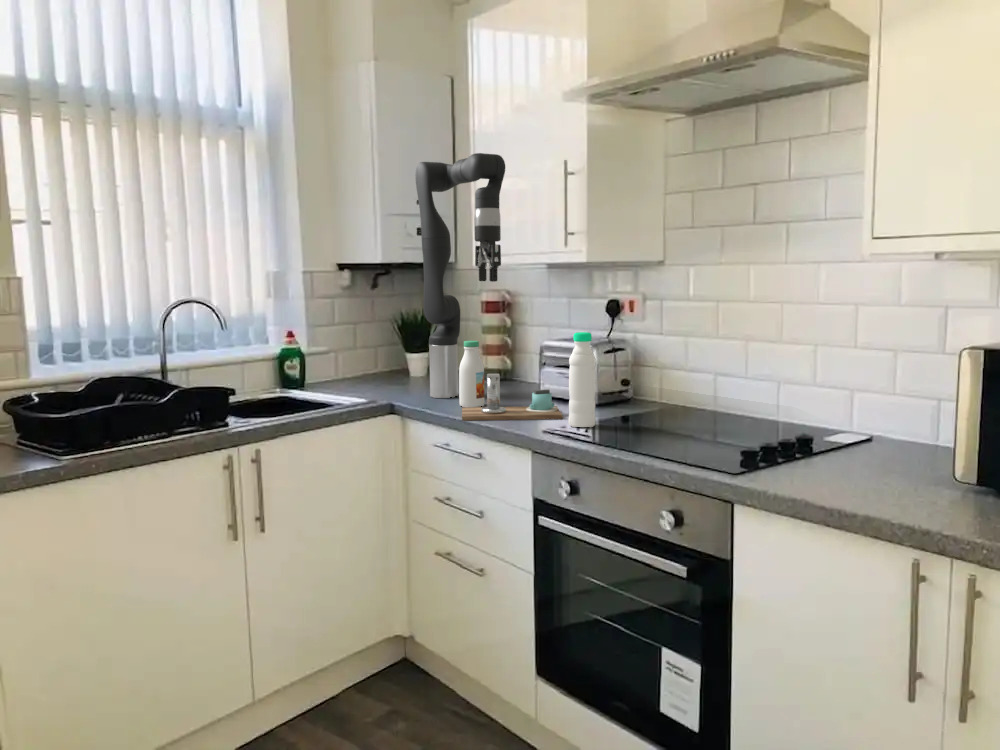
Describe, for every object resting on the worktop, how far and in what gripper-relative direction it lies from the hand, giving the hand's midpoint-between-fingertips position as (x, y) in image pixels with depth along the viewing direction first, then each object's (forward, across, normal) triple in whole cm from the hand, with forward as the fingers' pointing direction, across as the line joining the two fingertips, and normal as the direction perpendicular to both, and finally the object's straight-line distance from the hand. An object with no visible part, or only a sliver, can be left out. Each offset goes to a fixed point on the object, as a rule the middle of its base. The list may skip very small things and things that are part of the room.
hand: (487, 281), depth 231 cm
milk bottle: (+38, +8, +2) cm, 39 cm away
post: (+37, -10, +3) cm, 38 cm away
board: (+38, -10, -3) cm, 40 cm away
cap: (+36, -13, -11) cm, 40 cm away
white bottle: (+38, -33, -14) cm, 52 cm away
